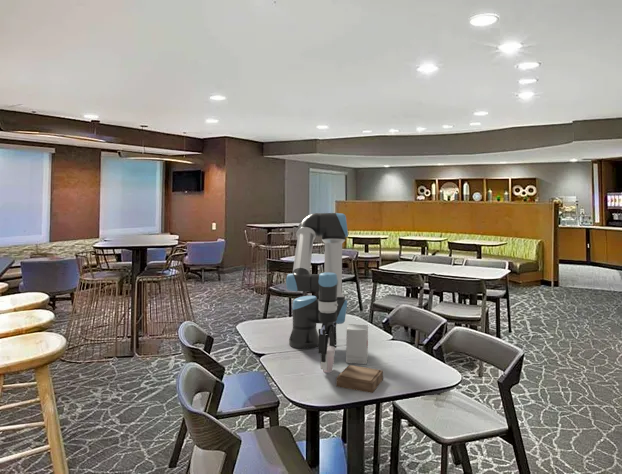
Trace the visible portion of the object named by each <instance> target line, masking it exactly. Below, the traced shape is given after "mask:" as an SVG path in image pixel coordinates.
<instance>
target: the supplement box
mask: <svg viewBox="0 0 622 474" xmlns="http://www.w3.org/2000/svg"><path fill="white" fill-rule="evenodd" d="M345 345H346V347H345V349H346V350H345V352H346V353H345V356H346V357H345V362H346V364H357V365H367V364H368V363H367V362H368V358H369V356H368V355H369V354H368V352H369V350H368V349H369V347H368V346H369V325H368V324H357V323H356V324H353V323H352V324H347V328H346V344H345Z"/></svg>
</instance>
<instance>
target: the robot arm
mask: <svg viewBox="0 0 622 474" xmlns="http://www.w3.org/2000/svg"><path fill="white" fill-rule="evenodd" d="M347 223H348V222H347V216H346V214H344V213H339V212H329V213H328V212H326V213H325V212H324V213H323V212H314V213H310V214H308V215H307V216H306V217H304V218H303V219H302V220H301V221H300V222H299V224H298V226H297V228H296V234H295V235H296V238H297V239H296V248H295V252H294V261H293V268H292V273H291V272H290V273H287V275H286V279H285V286H286V287H285V288H286V290H288V291H289V292H296V293H297V292H312V293H313V292H315V293H316V292H318V299H317V296H315V295H304V296H299V297H296V298H294V299H293V302H292V309H291V310H292V329H291V333H290V336H289V339H288V345H289V346H290V347H292V348H296V349H313V348H316V347H318V349H317V351H318V352H317V353H318V354H320V369H321V370H322V371H323V370H328V354H327V346H328V338H330V346H333V347H335V349H337V347H338V346H337V343H338V342H337V325H342V324H344V323H345V322H346V316H347V315H346V314H347V309H348V300H347V299H346V298H345V295H344V294H343V292H342V291H343V288H342V287H343V284H342V283H343V282H342V281H343V243H344V242H346V238H348V237H349V231H348V230H349V229H348V224H347ZM316 237H318V238H319V237H321V242H323V244H324V266H323V267H324V272H321V273H319V274H318V273H317V274H316V273H313V274H312V273H311V264H312V255H313V245H314V240H315V239H316ZM317 324H321V328H317ZM317 329H318V330H317ZM333 365H335V359H334V360H333Z"/></svg>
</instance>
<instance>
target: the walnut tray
mask: <svg viewBox="0 0 622 474" xmlns="http://www.w3.org/2000/svg"><path fill="white" fill-rule="evenodd" d="M383 379H384V370H383V369H377V368H370V367H364V366H360V365H359V366H358V365H353V364H349V365H348V366H347V367H345V368H344V369H343V370H342V371H341V372H340V373H339V374H338V375H337V376H336V379H335V380H336V382H335V384H336V388H337V387H338V388H343V389H348V390H354V391H359V392H363V393H369V394H374V392H375V391H376V389H377V388H378V387H379V385H380V384H381V383H382V381H383Z"/></svg>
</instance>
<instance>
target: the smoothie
mask: <svg viewBox="0 0 622 474" xmlns="http://www.w3.org/2000/svg"><path fill="white" fill-rule="evenodd" d="M335 352H336V348H335V347H333V346H330V338H328V346H327V354H328V370H323V369H322V371H323V373H325V374H326V373H327V374H328V373H329V374H330V373H332V372H333V367H334V364H333V360H334V361H335Z"/></svg>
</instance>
